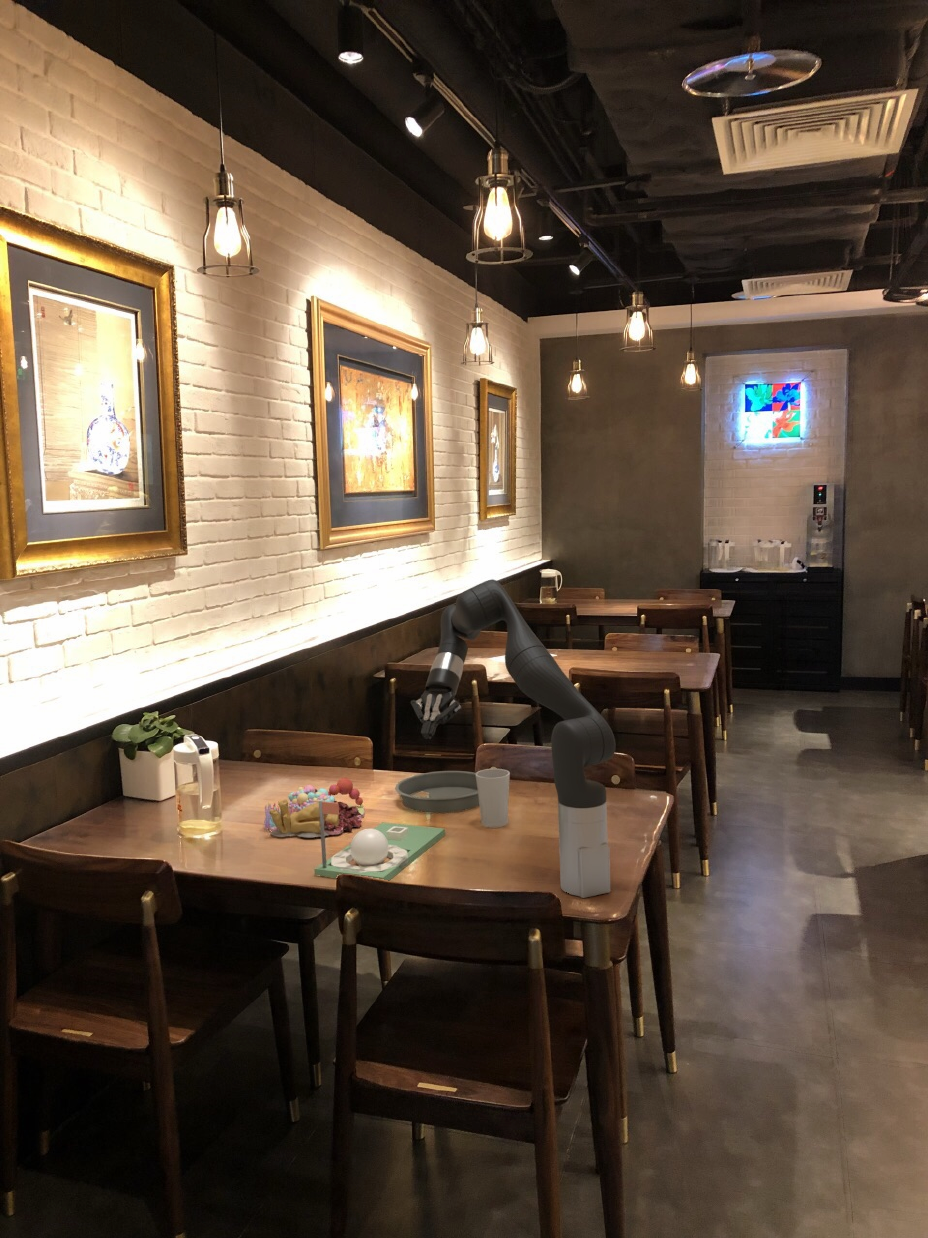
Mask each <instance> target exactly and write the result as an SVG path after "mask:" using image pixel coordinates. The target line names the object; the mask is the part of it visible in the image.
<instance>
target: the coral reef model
mask: <svg viewBox="0 0 928 1238" xmlns="http://www.w3.org/2000/svg"><path fill="white" fill-rule="evenodd" d="M353 784H354V783H353V782H352V780H351V779H350V778H348V777H343V778H340V779H339V780H338V781H337V783H336V784H331V785H330V786H329V788H328V790H327V789H326V788H322V787H321V788H319V789H317V788H315V787H314V786H313V785H312V784H307V785H304V787H302V786H299V787H298V788H297V789H296V791H293V792H290V793H289V794H288V799H283V800H279V801H278V803H277V807H276V803H275V802H274V803H273V806H271V803H270V802H268V805H265V806H264V813H265V817H264V822H263V823H264V825H263V826H264V830H266V831H269V830H271V831H272V832H271V831H270V833H271V834H270V835H271V836H273V837H279V838H283V837H293V836H297V837H302V838H311V839H312V838H315V837H316V838H318V837H320V838H321V831H320V815H319V801H323V802H333V803H338V804H339V815H334V814H324V813H323V816H324V832H325V837H326V836H329V835H331V836H332V835H333V836H334V835H341V834H342V833H343V832H344V831H347V832H353V831H352V829H353V828H355V827H356V828H360V827H361V825H362V823H363V822H362V819H363V818H364V817H365V816H366V811H365V808H364V804H363V802H364V799H363V798H362V797H360V794H361V792H360V791H359V790H358V789H357V788H354V785H353ZM338 794H341V795H348V797H349V799H351V800H354V801H355V804H356V805H352V804H348V803H345V802H343V801H337V800H336V798H335V796H337V795H338ZM288 800H289V801H288ZM267 828H268V829H269V830H268V829H267Z"/></svg>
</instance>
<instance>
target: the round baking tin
mask: <svg viewBox="0 0 928 1238" xmlns="http://www.w3.org/2000/svg"><path fill="white" fill-rule="evenodd" d="M476 773H477V772H472V771H463V770H442V771H441V770H440V771H430V772H425V773H419V774H415V775H411V776H409V777H406V778H404V779H401V780H400V781H398V783H397V784H395V787H394V789H395V792H396V793H397V794H398V795H400V799H401V801H402V805H403V806H404V807H406V808H407V809H409V810H412V811H414V812H420V813H427V814H428V813H429V814H449V813H458V812H462V811H468V810H471V809H475V808H477V807H480V805H479V796H478V788H477V781H476ZM419 792H420V793H421V792H424V793H426V794H428V797H426V796H425V797H424V796H417V795H413V794H417V793H419Z"/></svg>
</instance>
